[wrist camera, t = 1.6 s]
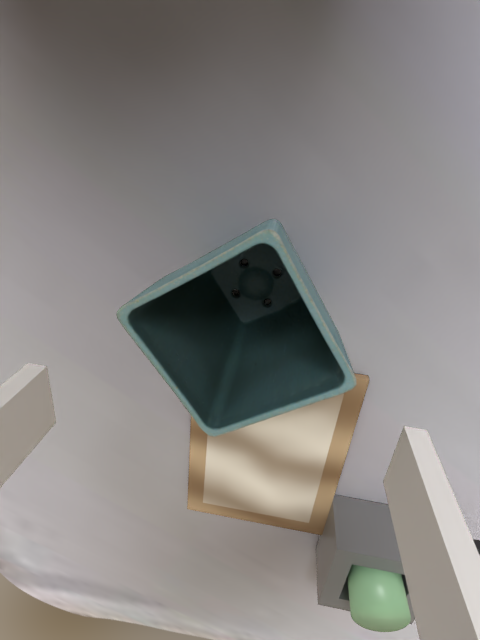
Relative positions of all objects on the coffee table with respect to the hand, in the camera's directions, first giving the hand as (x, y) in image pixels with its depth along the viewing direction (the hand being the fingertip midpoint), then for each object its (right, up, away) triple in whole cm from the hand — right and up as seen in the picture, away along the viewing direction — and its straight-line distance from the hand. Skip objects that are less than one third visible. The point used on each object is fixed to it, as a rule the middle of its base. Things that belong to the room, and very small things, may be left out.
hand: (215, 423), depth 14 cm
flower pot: (+2, +6, +12) cm, 14 cm away
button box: (+13, -16, +21) cm, 29 cm away
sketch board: (+3, -7, +19) cm, 20 cm away
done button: (+12, -17, +19) cm, 29 cm away
